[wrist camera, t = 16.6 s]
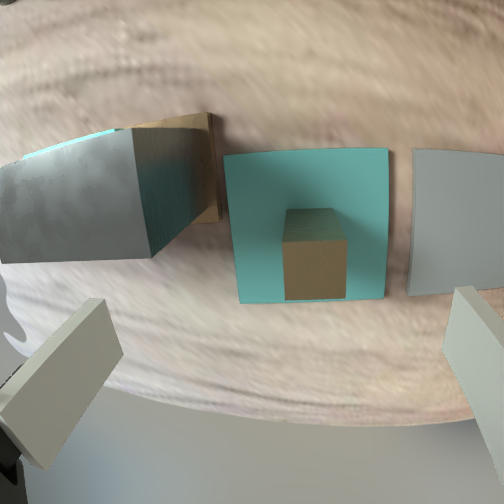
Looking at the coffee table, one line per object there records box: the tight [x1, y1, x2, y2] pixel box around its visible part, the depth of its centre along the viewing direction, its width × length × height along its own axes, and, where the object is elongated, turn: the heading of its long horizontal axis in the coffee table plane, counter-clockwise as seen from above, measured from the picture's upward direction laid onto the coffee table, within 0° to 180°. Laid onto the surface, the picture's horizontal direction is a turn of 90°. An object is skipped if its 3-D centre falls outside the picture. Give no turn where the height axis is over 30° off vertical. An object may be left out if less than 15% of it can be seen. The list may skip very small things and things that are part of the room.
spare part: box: [282, 208, 347, 301], centre depth 27 cm, size 4×4×10 cm
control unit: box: [0, 112, 222, 264], centre depth 26 cm, size 18×11×15 cm, turn 95°
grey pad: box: [406, 148, 504, 296], centre depth 29 cm, size 16×16×1 cm
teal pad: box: [223, 148, 389, 304], centre depth 32 cm, size 16×16×1 cm
